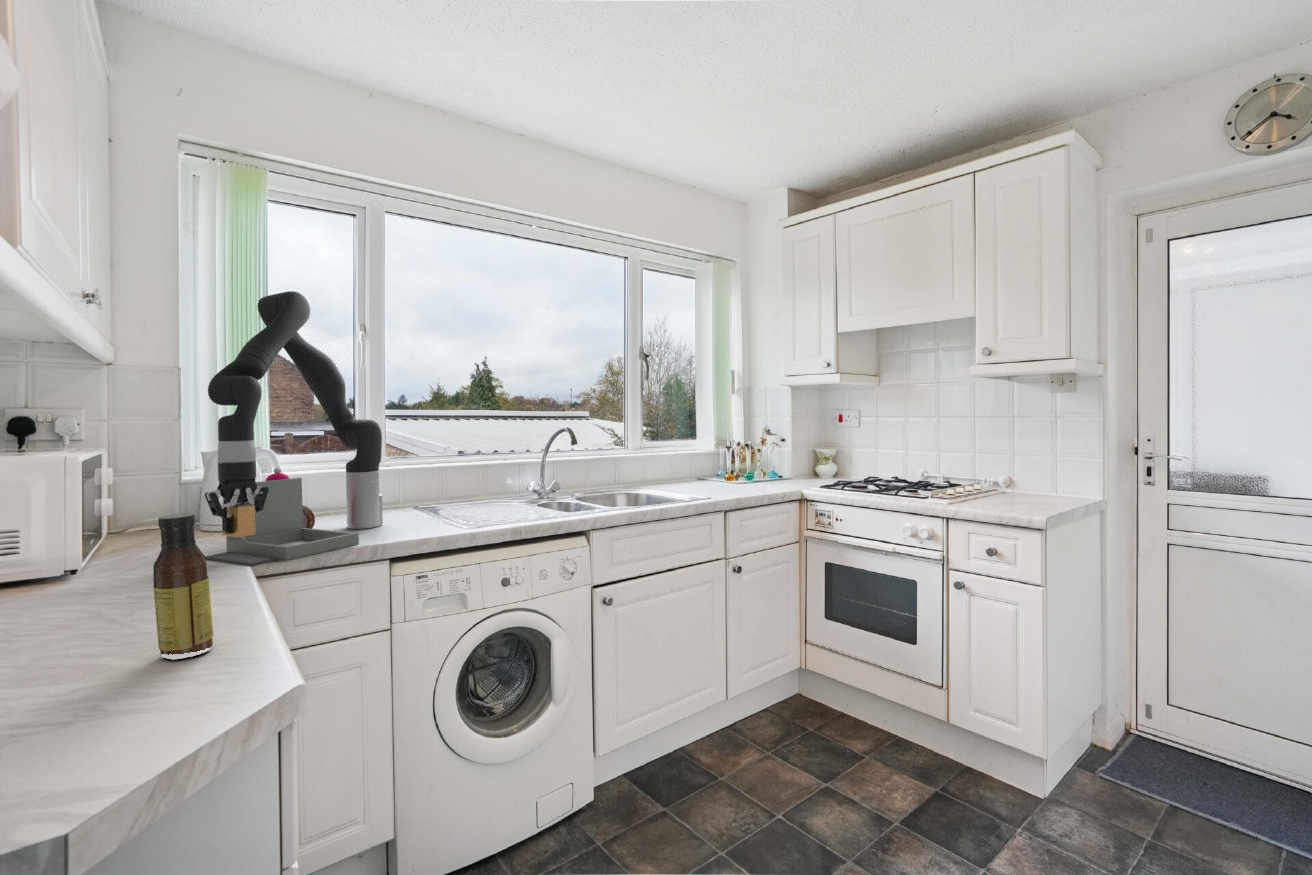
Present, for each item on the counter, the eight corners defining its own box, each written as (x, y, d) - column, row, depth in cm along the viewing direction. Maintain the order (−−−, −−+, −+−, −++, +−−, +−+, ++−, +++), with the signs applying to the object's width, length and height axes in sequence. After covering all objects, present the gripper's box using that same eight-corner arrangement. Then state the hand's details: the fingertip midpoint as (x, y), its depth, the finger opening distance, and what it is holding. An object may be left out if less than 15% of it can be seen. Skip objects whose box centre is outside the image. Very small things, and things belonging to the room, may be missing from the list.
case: (301, 538, 175) (299, 477, 175) (358, 544, 165) (357, 480, 165) (226, 552, 157) (224, 485, 156) (286, 560, 147) (284, 488, 147)
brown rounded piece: (316, 533, 183) (315, 504, 183) (309, 535, 180) (308, 506, 180) (267, 533, 184) (266, 504, 184) (259, 535, 181) (259, 506, 181)
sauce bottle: (206, 642, 92) (201, 509, 92) (220, 652, 88) (215, 513, 88) (150, 656, 87) (145, 515, 87) (162, 667, 83) (157, 519, 83)
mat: (230, 553, 155) (230, 551, 155) (277, 560, 147) (277, 557, 147) (204, 559, 149) (203, 556, 149) (251, 565, 142) (251, 563, 142)
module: (239, 532, 151) (239, 502, 151) (255, 534, 149) (254, 503, 148) (222, 535, 147) (221, 504, 147) (238, 537, 145) (237, 505, 145)
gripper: (257, 457, 156) (258, 526, 156) (194, 461, 143) (196, 535, 143) (276, 458, 152) (278, 528, 153) (214, 462, 140) (216, 538, 140)
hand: (238, 531), depth 148 cm, fingers closed on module, 4 cm apart
